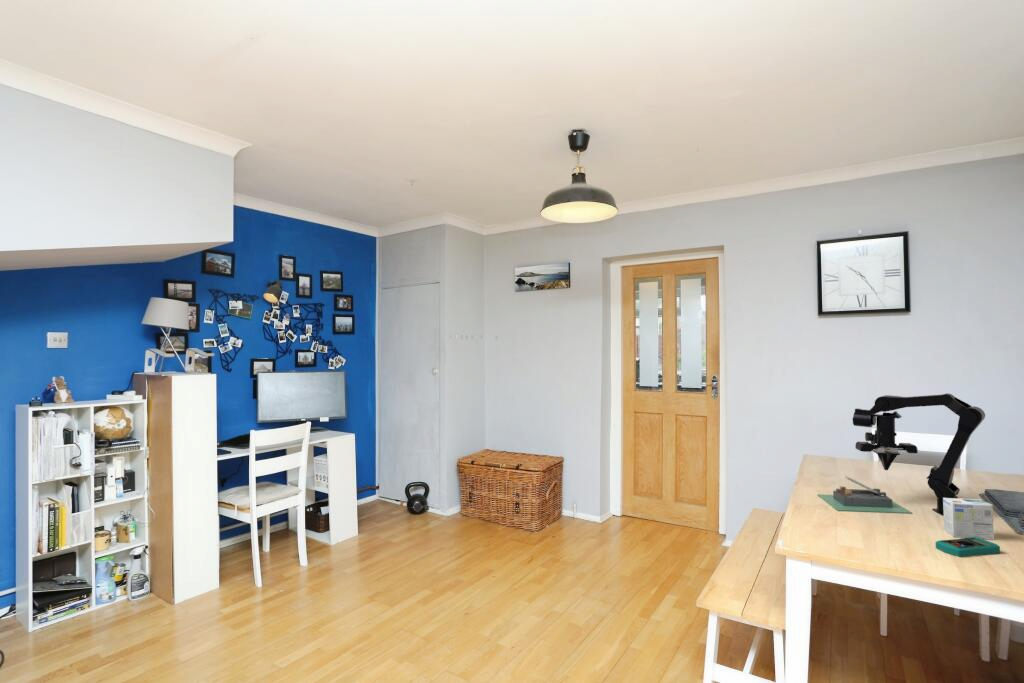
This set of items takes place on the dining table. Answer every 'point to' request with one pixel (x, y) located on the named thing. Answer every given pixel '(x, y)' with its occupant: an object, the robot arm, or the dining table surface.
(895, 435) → the robot arm
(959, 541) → the digital multimeter
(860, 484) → the grey flat long bar
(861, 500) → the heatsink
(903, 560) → the dining table surface
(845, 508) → the board
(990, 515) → the light bulb box
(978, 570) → the dining table surface
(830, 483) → the dining table surface
